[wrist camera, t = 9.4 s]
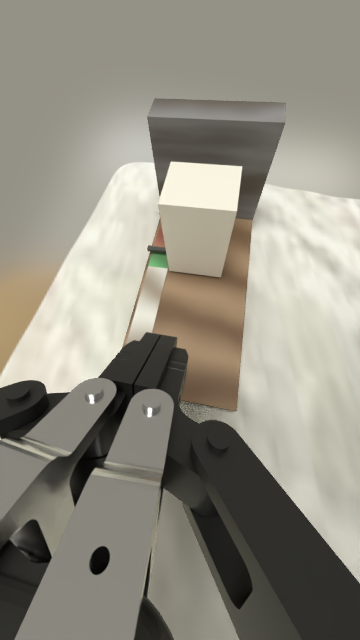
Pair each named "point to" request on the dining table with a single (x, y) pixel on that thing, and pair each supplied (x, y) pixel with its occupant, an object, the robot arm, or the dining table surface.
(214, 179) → the block
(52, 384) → the dining table surface
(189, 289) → the base
